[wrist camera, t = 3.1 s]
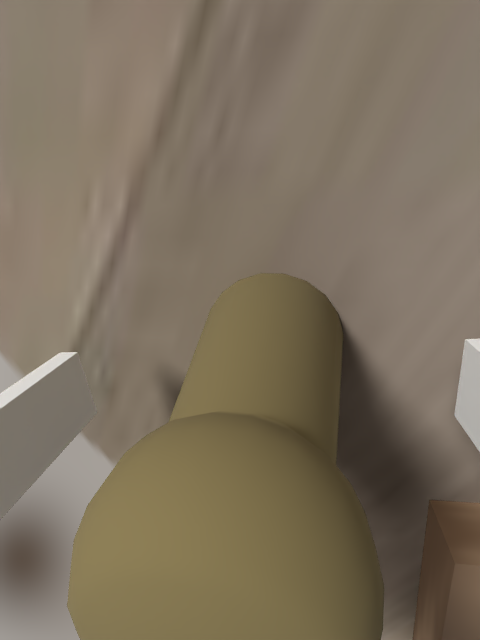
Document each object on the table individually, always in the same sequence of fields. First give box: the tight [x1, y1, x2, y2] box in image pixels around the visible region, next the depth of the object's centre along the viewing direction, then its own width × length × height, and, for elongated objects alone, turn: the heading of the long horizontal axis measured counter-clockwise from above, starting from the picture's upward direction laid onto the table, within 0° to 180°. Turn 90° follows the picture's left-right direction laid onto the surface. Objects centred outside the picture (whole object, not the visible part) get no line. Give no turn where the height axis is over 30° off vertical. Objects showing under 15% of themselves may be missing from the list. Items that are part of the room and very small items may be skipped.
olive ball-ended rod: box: [67, 273, 384, 640], centre depth 9 cm, size 6×6×11 cm
